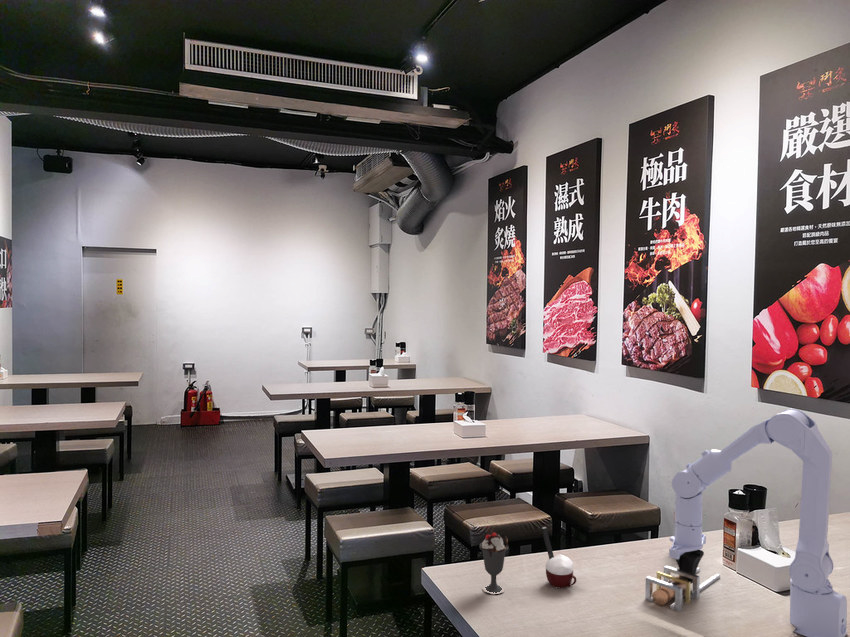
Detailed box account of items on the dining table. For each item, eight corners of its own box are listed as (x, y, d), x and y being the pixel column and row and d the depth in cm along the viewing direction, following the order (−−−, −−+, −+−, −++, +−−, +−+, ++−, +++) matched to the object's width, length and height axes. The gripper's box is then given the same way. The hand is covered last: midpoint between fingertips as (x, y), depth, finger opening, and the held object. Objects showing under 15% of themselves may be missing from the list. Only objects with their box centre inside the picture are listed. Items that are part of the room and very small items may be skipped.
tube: (679, 589, 140) (673, 575, 141) (691, 588, 138) (686, 573, 139) (655, 606, 131) (650, 591, 132) (668, 605, 129) (662, 589, 130)
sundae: (474, 592, 138) (475, 526, 138) (485, 581, 144) (486, 518, 144) (501, 599, 135) (502, 532, 135) (512, 587, 141) (512, 522, 141)
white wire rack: (725, 583, 144) (725, 559, 144) (679, 617, 128) (679, 590, 128) (691, 572, 150) (691, 549, 150) (643, 603, 134) (643, 577, 134)
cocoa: (580, 592, 140) (583, 541, 139) (556, 595, 138) (559, 543, 137) (558, 573, 149) (562, 525, 148) (535, 575, 147) (539, 526, 146)
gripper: (685, 511, 147) (684, 567, 147) (656, 525, 137) (655, 585, 137) (715, 518, 142) (714, 577, 142) (687, 533, 132) (686, 596, 132)
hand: (687, 581), depth 139 cm, fingers closed
